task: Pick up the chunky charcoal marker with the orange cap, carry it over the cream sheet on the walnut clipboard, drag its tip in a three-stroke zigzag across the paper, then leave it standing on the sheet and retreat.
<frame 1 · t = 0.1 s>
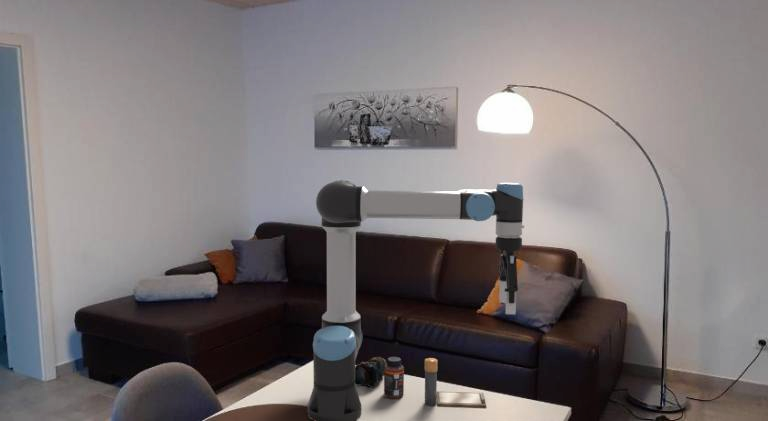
hand: (507, 308, 169), 28 cm above the table, fingers open, 13 cm apart
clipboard: (460, 400, 171), on the table
supplement bottle: (393, 395, 174), on the table
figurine: (373, 381, 186), on the table
marker: (430, 403, 169), on the table
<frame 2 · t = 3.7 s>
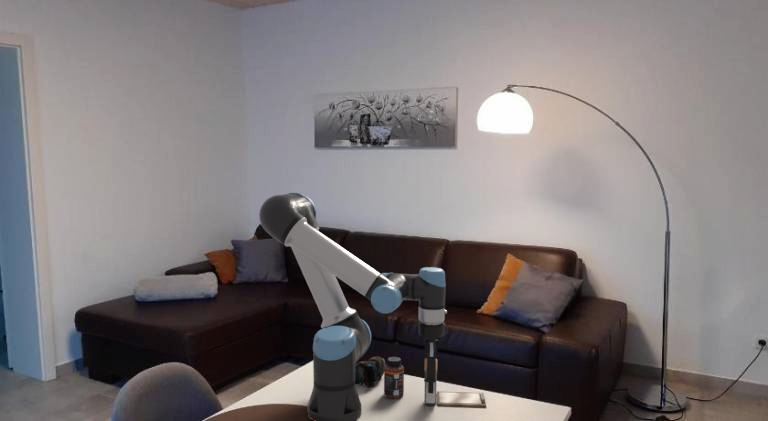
hand: (430, 399, 169), 1 cm above the table, fingers closed on marker, 3 cm apart
marker: (430, 403, 169), on the table, touching gripper
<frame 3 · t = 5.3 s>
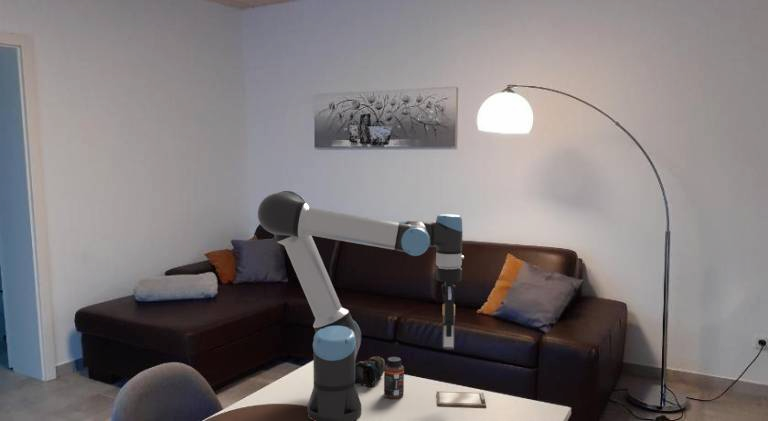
hand: (448, 344, 172), 16 cm above the table, fingers closed on marker, 3 cm apart
marker: (448, 347, 172), point 15 cm above the table, touching gripper
everything else where it was.
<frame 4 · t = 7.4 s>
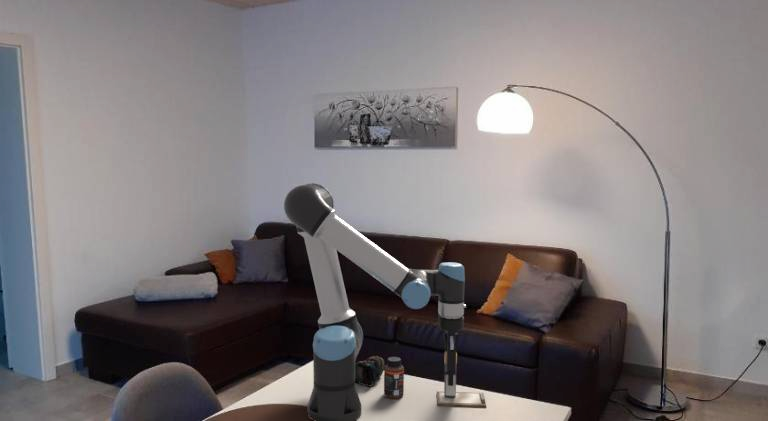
hand: (449, 392, 172), 2 cm above the table, fingers closed on marker, 3 cm apart
marker: (449, 395, 172), point 1 cm above the table, touching gripper
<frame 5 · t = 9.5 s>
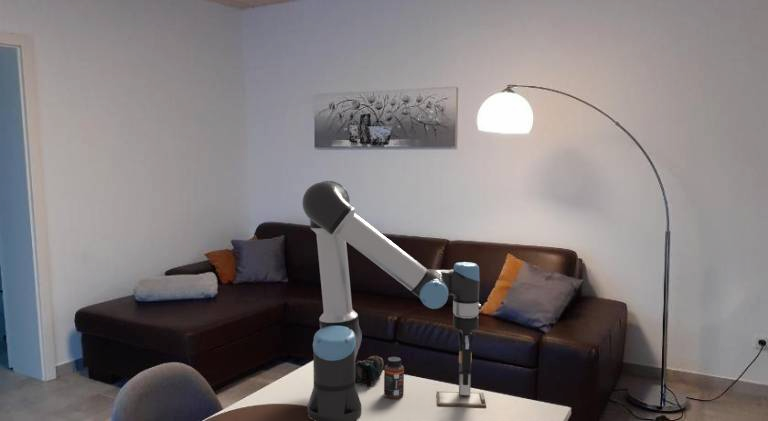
hand: (464, 391, 173), 2 cm above the table, fingers closed on marker, 3 cm apart
marker: (464, 394, 173), point 1 cm above the table, touching gripper
when the fingers open (2 cm above the table, at t = 11.3 s): marker stays where it is, resting on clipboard.
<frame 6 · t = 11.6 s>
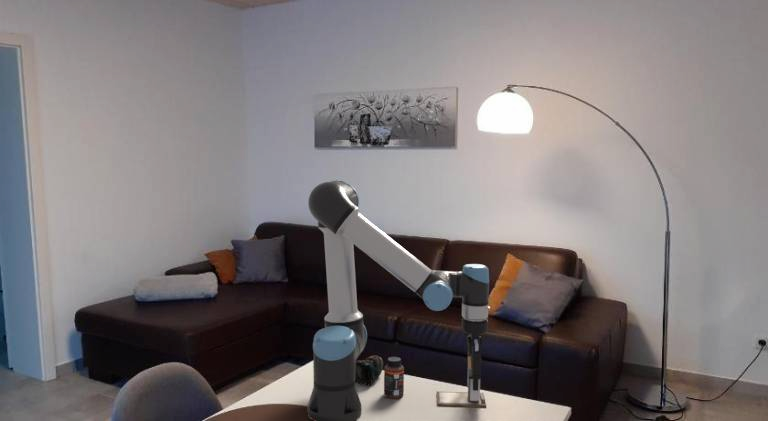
hand: (473, 393, 169), 3 cm above the table, fingers open, 8 cm apart
marker: (473, 401, 169), point 1 cm above the table, touching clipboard
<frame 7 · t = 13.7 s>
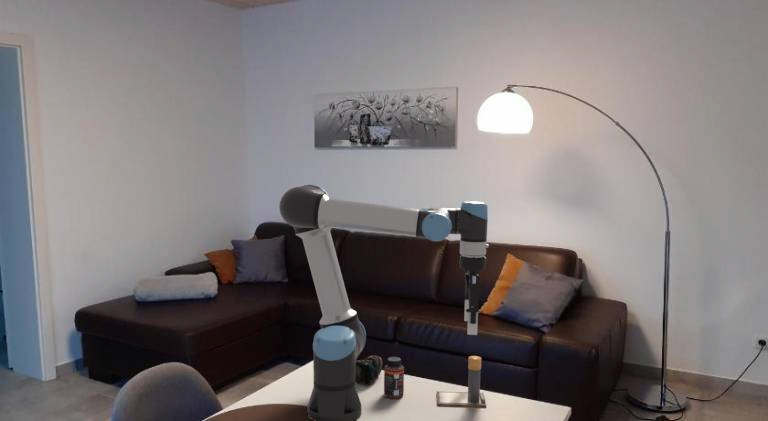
hand: (470, 327, 168), 22 cm above the table, fingers open, 13 cm apart
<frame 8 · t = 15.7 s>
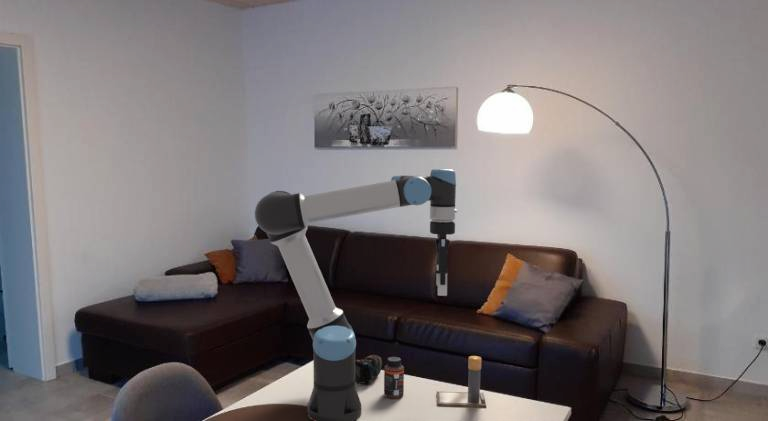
hand: (441, 290, 175), 32 cm above the table, fingers open, 13 cm apart
at the end: marker inside the target area on the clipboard (4.2 cm from its centre), point 0.7 cm above the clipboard's base; marker touching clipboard; the gripper is holding nothing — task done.
